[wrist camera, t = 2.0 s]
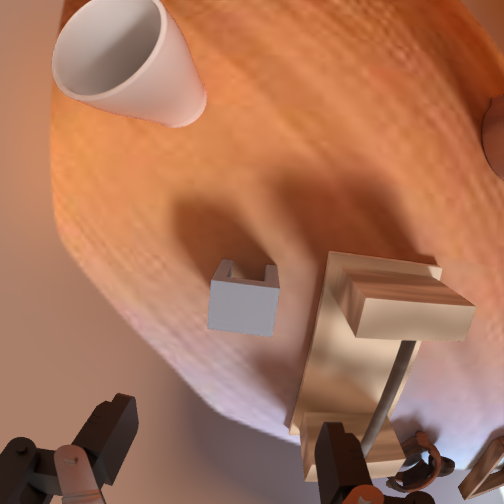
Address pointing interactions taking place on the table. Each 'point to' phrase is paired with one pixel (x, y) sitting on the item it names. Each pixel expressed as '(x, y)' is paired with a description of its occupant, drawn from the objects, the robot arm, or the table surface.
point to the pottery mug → (420, 466)
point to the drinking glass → (129, 62)
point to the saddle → (243, 301)
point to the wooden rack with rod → (371, 350)
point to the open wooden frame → (485, 472)
